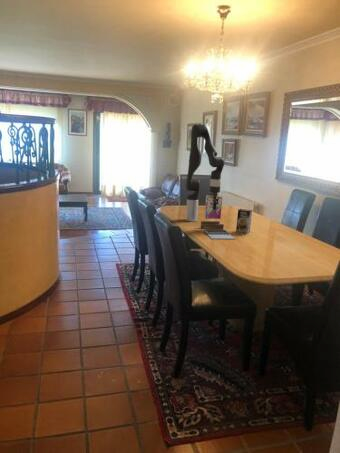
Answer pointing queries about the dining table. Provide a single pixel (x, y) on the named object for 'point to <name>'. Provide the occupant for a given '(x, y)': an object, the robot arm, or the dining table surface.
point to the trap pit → (216, 232)
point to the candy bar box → (209, 208)
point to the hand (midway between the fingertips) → (213, 208)
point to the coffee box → (244, 220)
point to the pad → (221, 237)
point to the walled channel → (212, 225)
